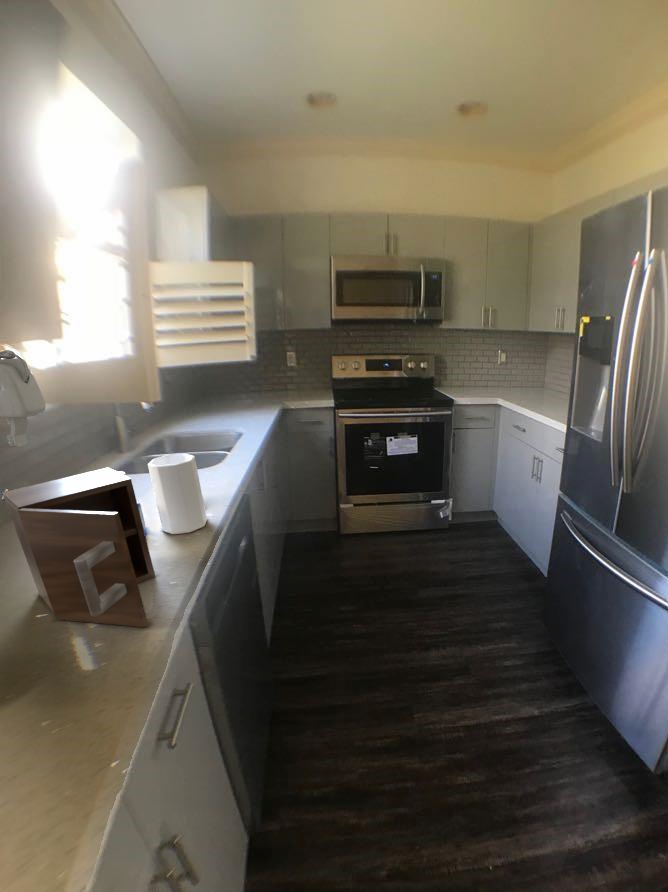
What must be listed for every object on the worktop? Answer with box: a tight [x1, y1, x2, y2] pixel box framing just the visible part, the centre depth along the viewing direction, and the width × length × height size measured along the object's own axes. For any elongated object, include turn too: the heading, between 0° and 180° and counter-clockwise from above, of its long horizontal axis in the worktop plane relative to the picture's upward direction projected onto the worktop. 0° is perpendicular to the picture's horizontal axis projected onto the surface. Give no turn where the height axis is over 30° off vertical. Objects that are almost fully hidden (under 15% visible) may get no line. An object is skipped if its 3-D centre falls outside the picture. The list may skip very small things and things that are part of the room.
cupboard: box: [2, 467, 156, 612], centre depth 92 cm, size 12×18×22 cm, turn 139°
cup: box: [147, 453, 208, 535], centre depth 119 cm, size 11×11×18 cm
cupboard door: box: [18, 508, 149, 628], centre depth 77 cm, size 8×18×22 cm, turn 80°
